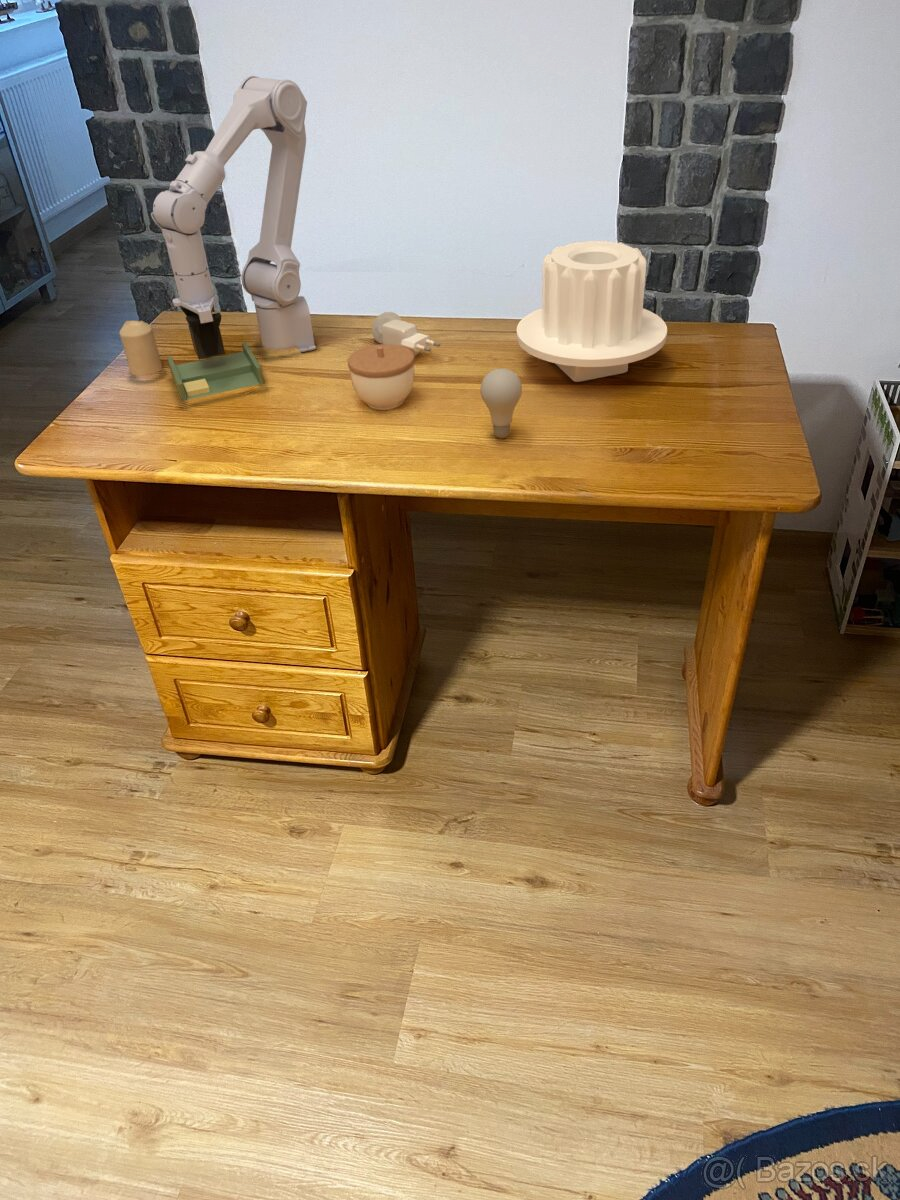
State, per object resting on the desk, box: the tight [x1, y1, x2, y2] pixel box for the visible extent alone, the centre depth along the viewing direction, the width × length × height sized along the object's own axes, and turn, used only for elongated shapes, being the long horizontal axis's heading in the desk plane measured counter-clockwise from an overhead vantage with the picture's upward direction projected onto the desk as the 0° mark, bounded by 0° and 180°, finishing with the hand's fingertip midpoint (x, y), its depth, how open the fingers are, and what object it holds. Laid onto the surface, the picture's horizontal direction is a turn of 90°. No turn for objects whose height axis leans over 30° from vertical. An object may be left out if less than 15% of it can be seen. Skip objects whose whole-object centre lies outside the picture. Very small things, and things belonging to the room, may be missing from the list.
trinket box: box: [347, 344, 416, 411], centre depth 147 cm, size 11×11×9 cm
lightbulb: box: [480, 367, 523, 439], centre depth 135 cm, size 6×6×11 cm
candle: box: [119, 320, 163, 377], centre depth 160 cm, size 6×6×10 cm
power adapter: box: [382, 319, 441, 357], centre depth 161 cm, size 11×5×6 cm, turn 50°
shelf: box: [167, 341, 265, 402], centre depth 157 cm, size 14×12×4 cm
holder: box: [187, 324, 226, 360], centre depth 156 cm, size 5×5×4 cm
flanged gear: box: [516, 239, 668, 383], centre depth 151 cm, size 25×25×19 cm
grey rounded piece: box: [371, 311, 403, 345], centre depth 170 cm, size 6×6×5 cm
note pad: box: [183, 379, 210, 397], centre depth 154 cm, size 4×4×1 cm
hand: (209, 349), depth 157 cm, fingers closed on holder, 4 cm apart
